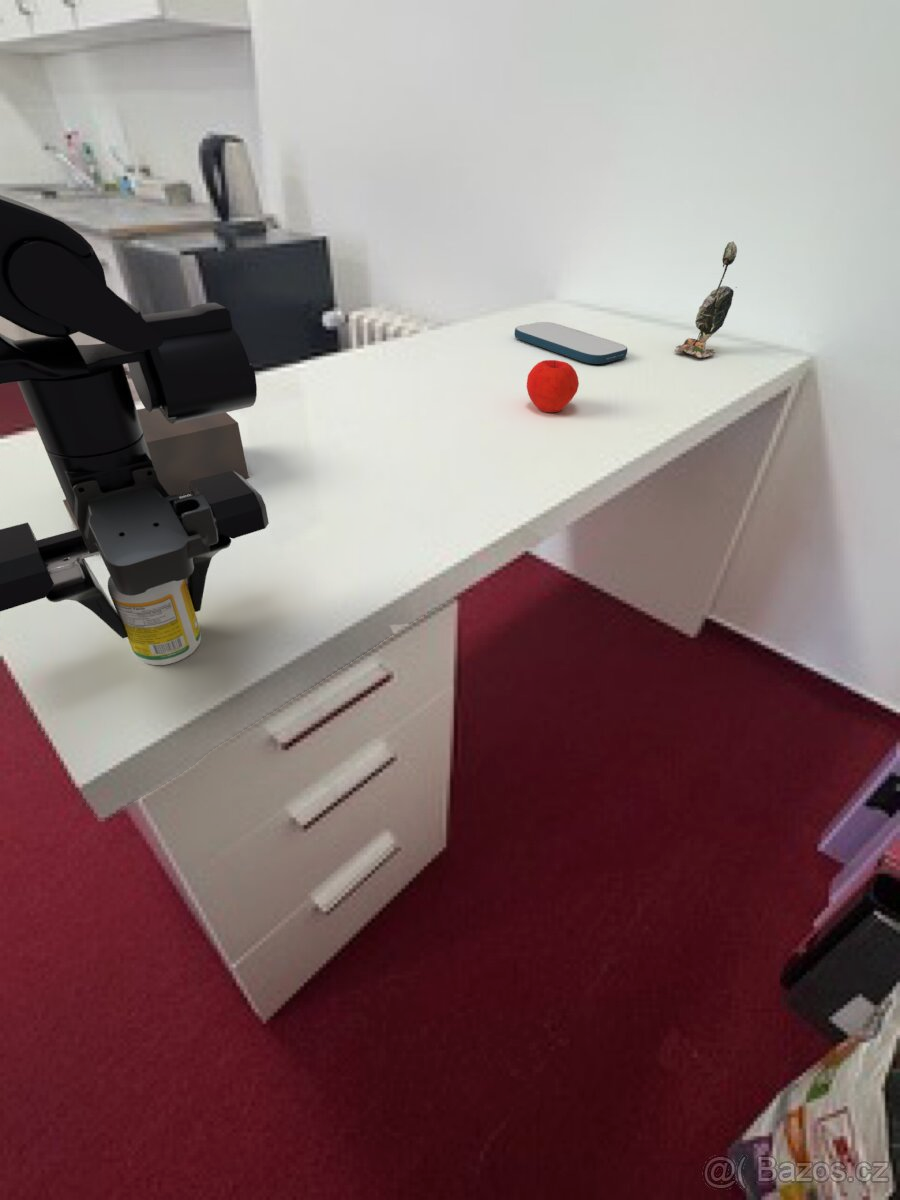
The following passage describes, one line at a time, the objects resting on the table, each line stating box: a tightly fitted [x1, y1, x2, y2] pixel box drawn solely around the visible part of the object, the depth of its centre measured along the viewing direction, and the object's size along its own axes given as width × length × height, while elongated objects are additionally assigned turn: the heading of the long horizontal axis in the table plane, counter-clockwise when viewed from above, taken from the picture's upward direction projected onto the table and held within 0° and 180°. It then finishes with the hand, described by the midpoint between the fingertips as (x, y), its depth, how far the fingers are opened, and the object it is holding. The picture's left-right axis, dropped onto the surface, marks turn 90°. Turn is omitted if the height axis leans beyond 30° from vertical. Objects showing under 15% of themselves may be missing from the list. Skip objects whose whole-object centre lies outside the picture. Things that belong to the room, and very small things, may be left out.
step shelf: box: [62, 407, 250, 530], centre depth 67 cm, size 20×17×7 cm
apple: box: [526, 359, 580, 413], centre depth 92 cm, size 8×8×7 cm
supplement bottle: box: [107, 575, 202, 666], centre depth 46 cm, size 5×5×10 cm
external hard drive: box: [514, 321, 628, 365], centre depth 120 cm, size 24×12×2 cm, turn 39°
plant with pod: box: [674, 240, 738, 359], centre depth 115 cm, size 8×11×20 cm
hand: (160, 621), depth 48 cm, fingers closed on supplement bottle, 5 cm apart
